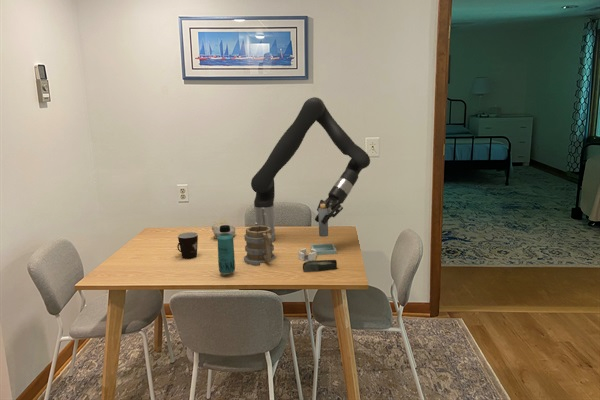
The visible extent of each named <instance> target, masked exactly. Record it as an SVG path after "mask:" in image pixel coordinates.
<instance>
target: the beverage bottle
mask: <svg viewBox="0 0 600 400" xmlns="http://www.w3.org/2000/svg"><path fill="white" fill-rule="evenodd" d="M229 225H230V224H229ZM229 225H222V226H220V232H223V233H222V234H220V235H219V236H218V237H217V238H216V239H217V259H218V260H217V261H218V264H217V266H218V272H219V273H220V274H223V275H227V274H228V275H229V274H232V273H234V272H235V271H236V259H235V245H234V242H235V241H234V236H233V235H231V234H230V233H225V232H230V226H229Z"/></svg>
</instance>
